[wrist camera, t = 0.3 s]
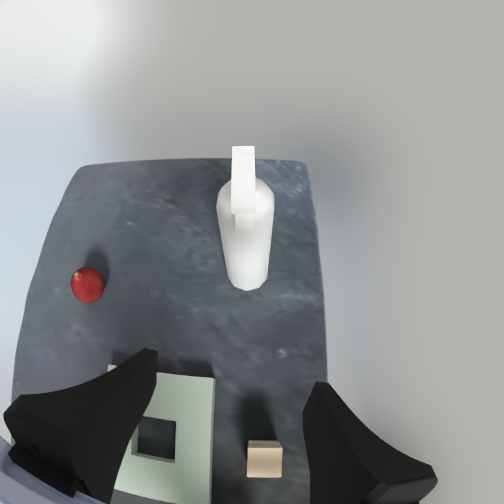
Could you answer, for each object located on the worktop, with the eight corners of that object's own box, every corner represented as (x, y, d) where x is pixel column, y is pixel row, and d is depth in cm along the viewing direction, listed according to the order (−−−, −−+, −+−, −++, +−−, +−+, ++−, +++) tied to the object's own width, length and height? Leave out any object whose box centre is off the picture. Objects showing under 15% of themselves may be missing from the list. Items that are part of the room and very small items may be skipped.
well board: (211, 502, 28) (208, 508, 26) (109, 481, 29) (102, 484, 26) (215, 379, 38) (213, 378, 36) (115, 366, 39) (108, 364, 36)
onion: (82, 309, 43) (57, 291, 36) (86, 279, 46) (64, 258, 39) (109, 308, 43) (87, 290, 36) (112, 277, 46) (92, 255, 39)
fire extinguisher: (269, 234, 50) (274, 113, 28) (270, 301, 45) (280, 202, 22) (230, 234, 50) (210, 115, 28) (226, 301, 45) (194, 203, 23)
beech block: (276, 465, 32) (281, 477, 26) (247, 465, 32) (246, 476, 26) (277, 440, 34) (282, 448, 28) (248, 440, 34) (247, 447, 28)
